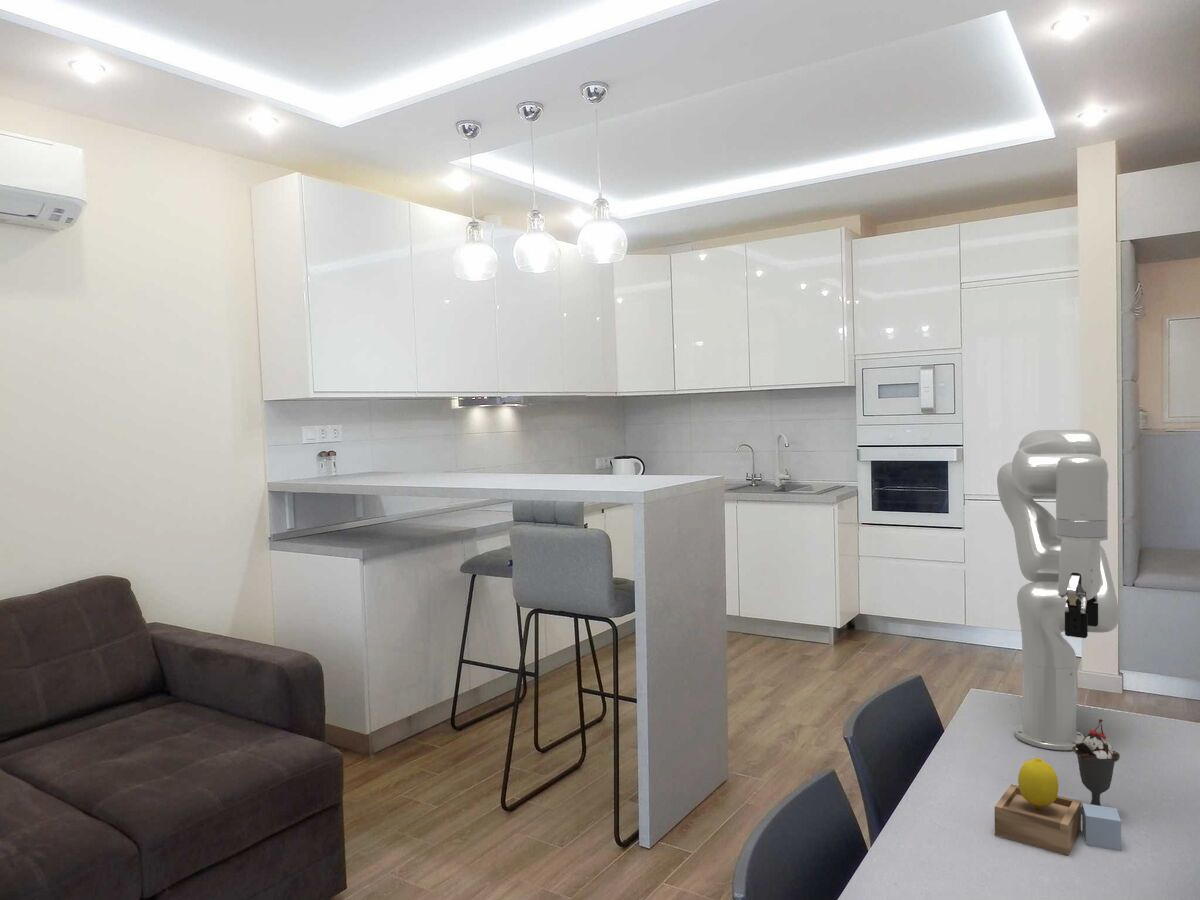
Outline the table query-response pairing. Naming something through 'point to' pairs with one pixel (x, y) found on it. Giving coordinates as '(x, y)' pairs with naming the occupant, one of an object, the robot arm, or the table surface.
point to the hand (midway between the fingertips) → (1081, 630)
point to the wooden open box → (1038, 821)
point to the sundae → (1096, 763)
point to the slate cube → (1101, 826)
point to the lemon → (1038, 783)
